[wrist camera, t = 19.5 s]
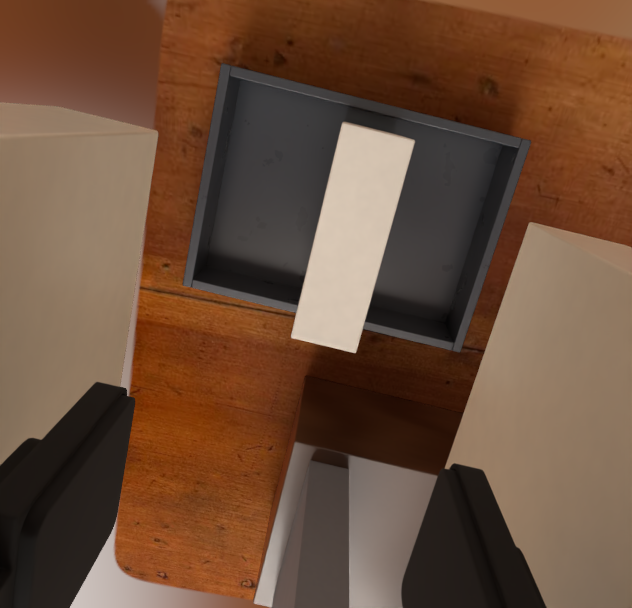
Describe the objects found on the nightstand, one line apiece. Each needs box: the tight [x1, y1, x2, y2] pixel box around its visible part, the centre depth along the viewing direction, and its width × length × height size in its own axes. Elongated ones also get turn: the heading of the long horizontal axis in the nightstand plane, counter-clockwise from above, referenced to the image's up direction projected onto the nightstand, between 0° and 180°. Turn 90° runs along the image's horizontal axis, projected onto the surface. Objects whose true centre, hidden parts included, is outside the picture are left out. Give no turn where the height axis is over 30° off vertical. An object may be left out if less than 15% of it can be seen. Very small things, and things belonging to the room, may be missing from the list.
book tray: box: [183, 63, 531, 352], centre depth 40 cm, size 19×14×5 cm
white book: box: [291, 122, 415, 353], centre depth 35 cm, size 4×11×13 cm, turn 167°
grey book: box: [272, 460, 349, 608], centre depth 33 cm, size 2×11×12 cm, turn 167°
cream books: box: [0, 102, 632, 608], centre depth 13 cm, size 17×11×12 cm, turn 77°
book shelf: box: [253, 376, 463, 608], centre depth 44 cm, size 20×13×10 cm, turn 77°
